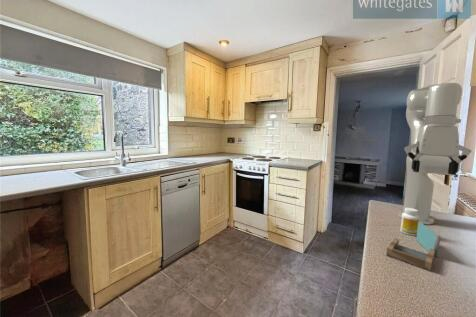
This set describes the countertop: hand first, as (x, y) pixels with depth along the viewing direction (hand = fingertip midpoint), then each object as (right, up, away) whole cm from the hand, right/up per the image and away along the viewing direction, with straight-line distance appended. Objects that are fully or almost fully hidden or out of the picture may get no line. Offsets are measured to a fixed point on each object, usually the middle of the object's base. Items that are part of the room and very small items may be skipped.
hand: (433, 173), depth 71 cm
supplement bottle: (+2, -25, +12) cm, 28 cm away
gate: (-2, -26, +1) cm, 26 cm away
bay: (-12, -26, -4) cm, 29 cm away
